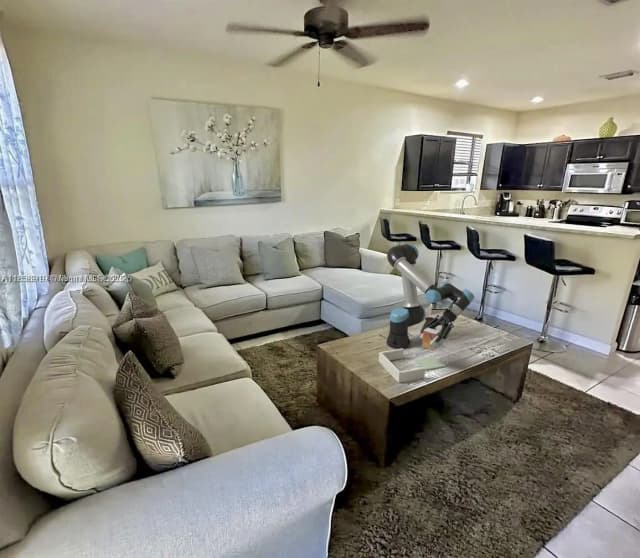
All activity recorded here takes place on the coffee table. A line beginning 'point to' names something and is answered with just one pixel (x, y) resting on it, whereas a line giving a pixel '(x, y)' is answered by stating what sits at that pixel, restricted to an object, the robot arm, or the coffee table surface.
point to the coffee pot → (426, 324)
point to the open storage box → (398, 375)
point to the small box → (430, 338)
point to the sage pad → (430, 363)
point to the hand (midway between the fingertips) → (426, 341)
